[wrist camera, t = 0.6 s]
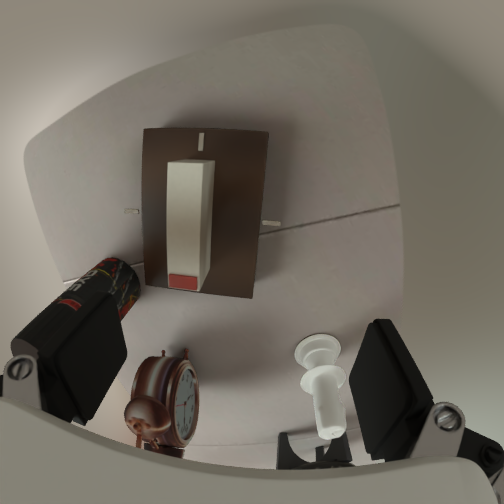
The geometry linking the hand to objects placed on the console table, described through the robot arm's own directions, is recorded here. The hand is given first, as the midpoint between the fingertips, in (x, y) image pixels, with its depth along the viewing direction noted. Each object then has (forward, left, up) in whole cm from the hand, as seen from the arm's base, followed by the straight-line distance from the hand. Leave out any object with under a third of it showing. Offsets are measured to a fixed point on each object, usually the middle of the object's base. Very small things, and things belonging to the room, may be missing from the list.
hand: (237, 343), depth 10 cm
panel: (-1, -5, -17) cm, 17 cm away
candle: (+14, +8, -17) cm, 24 cm away
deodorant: (+8, -15, -17) cm, 24 cm away
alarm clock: (+19, -8, -17) cm, 27 cm away
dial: (-1, -5, -14) cm, 14 cm away
